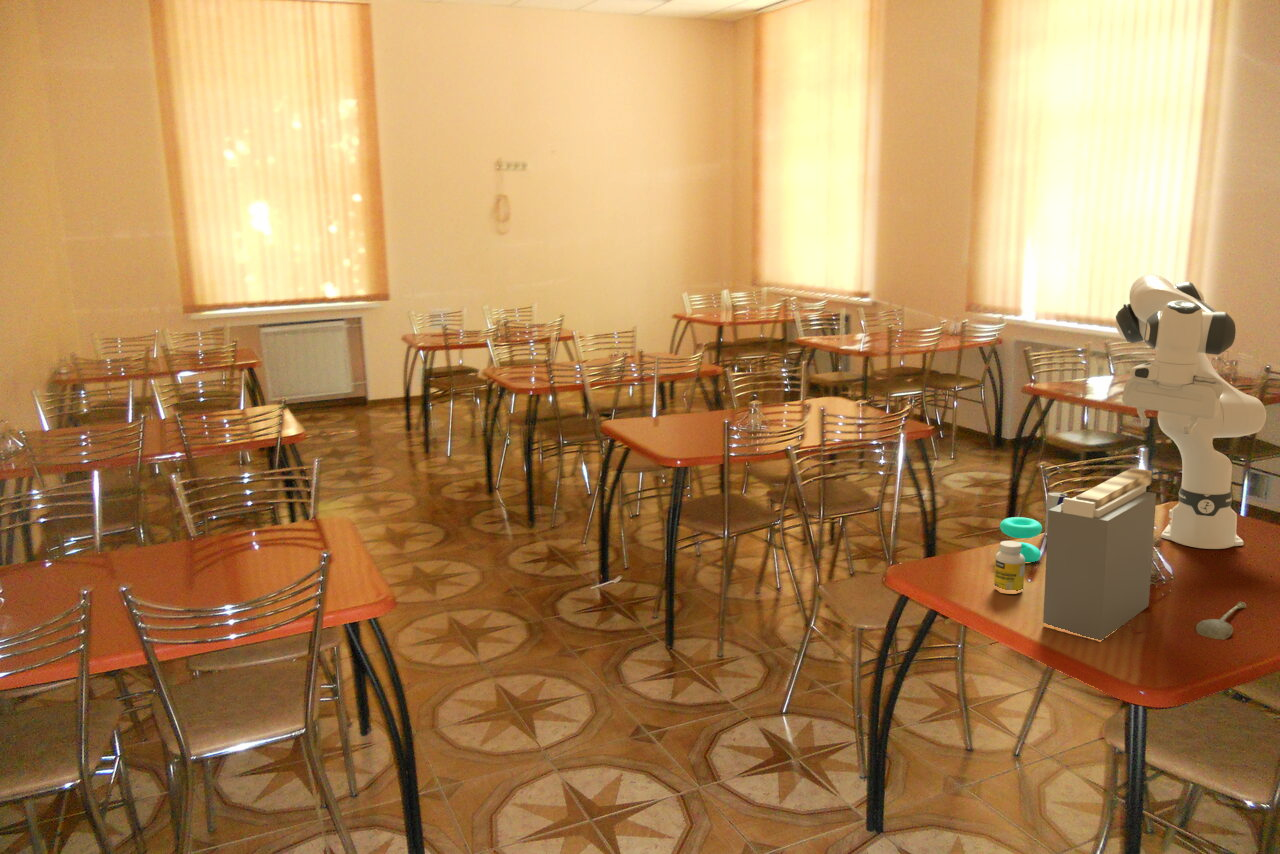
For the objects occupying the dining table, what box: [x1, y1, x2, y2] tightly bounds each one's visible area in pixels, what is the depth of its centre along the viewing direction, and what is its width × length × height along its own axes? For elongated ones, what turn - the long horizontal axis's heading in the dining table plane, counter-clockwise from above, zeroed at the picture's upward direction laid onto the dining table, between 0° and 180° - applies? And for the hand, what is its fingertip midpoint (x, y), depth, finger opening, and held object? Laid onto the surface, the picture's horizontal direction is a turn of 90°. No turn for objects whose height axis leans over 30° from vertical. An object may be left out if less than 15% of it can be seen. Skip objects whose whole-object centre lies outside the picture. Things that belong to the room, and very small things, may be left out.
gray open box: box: [1042, 484, 1157, 640], centre depth 209 cm, size 26×12×29 cm, turn 133°
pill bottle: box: [993, 540, 1026, 591], centre depth 227 cm, size 6×6×12 cm
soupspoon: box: [1195, 601, 1247, 641], centre depth 206 cm, size 22×3×7 cm
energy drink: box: [1044, 491, 1069, 534], centre depth 264 cm, size 5×5×12 cm
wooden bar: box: [1076, 467, 1153, 510], centre depth 209 cm, size 30×4×3 cm, turn 134°
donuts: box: [998, 516, 1043, 563], centre depth 248 cm, size 10×10×10 cm
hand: (1165, 430), depth 228 cm, fingers open, 8 cm apart
